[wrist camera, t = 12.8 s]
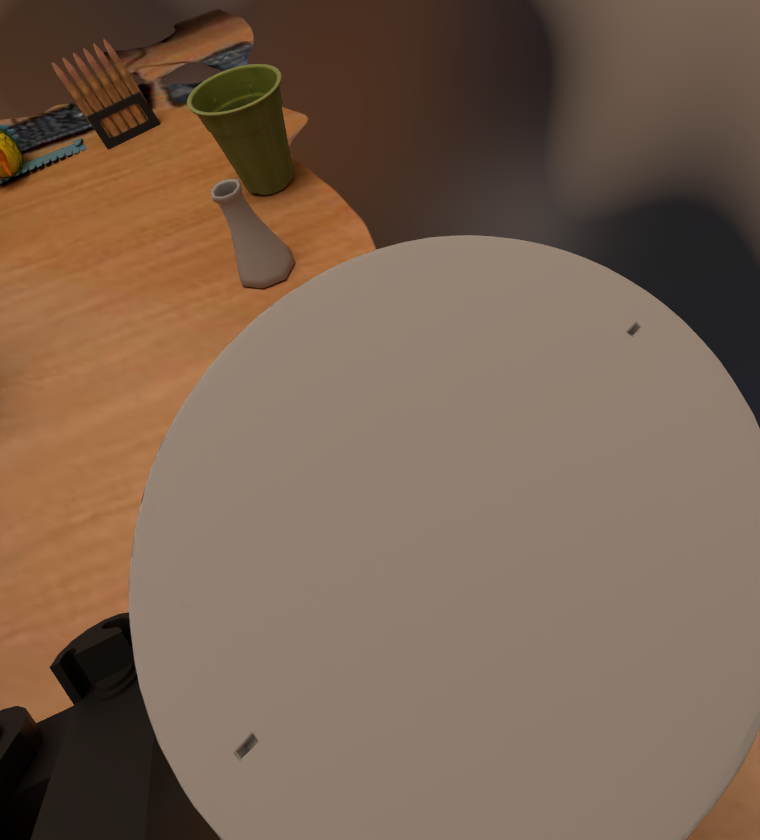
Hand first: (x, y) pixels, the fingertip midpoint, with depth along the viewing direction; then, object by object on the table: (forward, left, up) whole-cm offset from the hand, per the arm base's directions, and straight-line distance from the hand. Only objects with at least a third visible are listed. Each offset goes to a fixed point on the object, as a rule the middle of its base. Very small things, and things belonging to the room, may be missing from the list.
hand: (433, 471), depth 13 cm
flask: (+30, +24, -18) cm, 42 cm away
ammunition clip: (+66, +63, -18) cm, 93 cm away
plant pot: (+48, +29, -18) cm, 59 cm away
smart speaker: (-3, -1, -6) cm, 6 cm away
